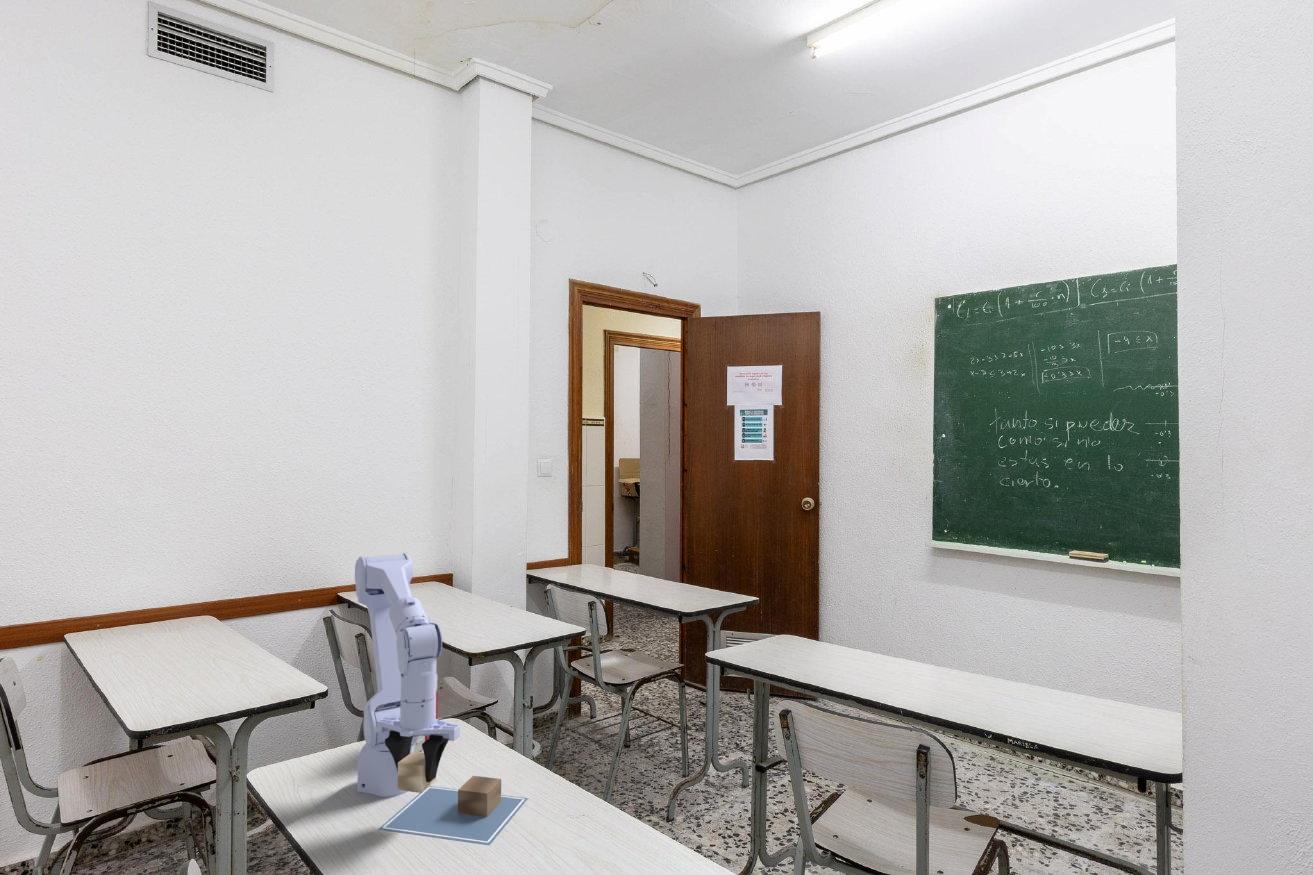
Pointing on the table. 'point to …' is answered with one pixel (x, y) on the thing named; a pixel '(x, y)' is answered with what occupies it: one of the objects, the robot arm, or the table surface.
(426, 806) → the board
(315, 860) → the table surface
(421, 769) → the maple cube
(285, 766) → the table surface
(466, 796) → the walnut block
